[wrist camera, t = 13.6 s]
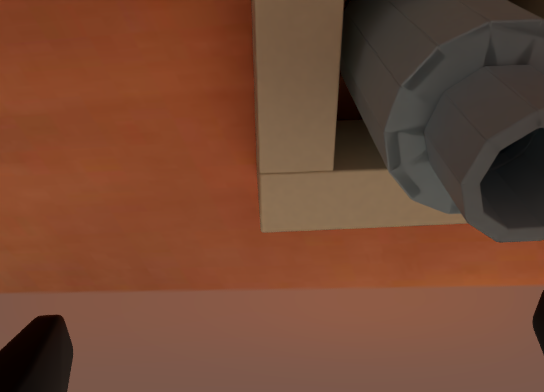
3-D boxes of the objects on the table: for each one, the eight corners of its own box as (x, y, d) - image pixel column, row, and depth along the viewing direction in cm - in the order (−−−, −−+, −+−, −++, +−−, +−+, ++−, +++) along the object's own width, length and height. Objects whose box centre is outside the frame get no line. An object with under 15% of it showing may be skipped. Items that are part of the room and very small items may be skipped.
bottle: (462, 102, 20) (620, 270, 12) (330, 106, 20) (397, 281, 12) (491, -40, 17) (726, 51, 9) (338, -36, 17) (434, 61, 9)
